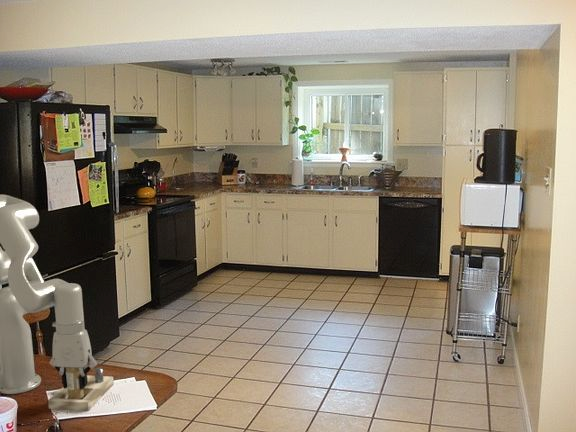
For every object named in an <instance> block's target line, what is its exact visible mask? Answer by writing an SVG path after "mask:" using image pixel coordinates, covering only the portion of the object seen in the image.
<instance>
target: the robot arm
mask: <svg viewBox="0 0 576 432" xmlns="http://www.w3.org/2000/svg"><path fill="white" fill-rule="evenodd" d="M39 223H40V215H39V212H38V210H37V209H36V207H35V206H34V205H32V204H31V203H30V202H28V201H26V200H23V199H20V198H18V197H14V196H11V195H9V194H8V195H7V194H0V286H1V285H6V284H8V286H5V287H2V288H0V393H1V394H4V395H16V394H22V393H26V392H30V391H31V390H34V389H35V388H37V387H39V386H40V384H41V383H42V378H41V376H40V375H39V374H37V373H36V370H35V361H34V359H35V358H34V351H33V350H34V347H33V339H32V337H33V336H32V331H31V327H30V324H29V323H28V322H27V321H26V320H25V318H24V315H26V314H28V313H29V314H30V313H31V314H34V313H37V312H38V313H39V312H41V311H43V310H46V309H49V308H53V307H54V314H55V315H54V316H55V321H54V322H52V326H51V327H52V328H55V332H53V337H52V352H51V353H52V355H51V356H52V357H51V359H50V361H49V365H51V367H53V368H54V369H55V370H56V371H58V374H59V375H60V376H61V383H62V388H67V379H66V367H69V368H79V372H80V376H79V386H80V389H83V388H84V387H85V386H86V385H87V383H88V380H87V375H88V373H89V372H90V371H91V370H92V369H95V368H96V366H98V362H97V360H96V359H95V358H94V356H93V355H92V346H91V341H90V337H89V334H88V330H87V329H85V319H84V318H85V316H84V306H83V305H84V303H83V292H82V291H83V289H82V287H81V285H80V284H78V283H73V282H70V283H69V282H67V281H65V280H63V279H60V278H53V279H49V280H46V281H45V280H44V278H43V276H42V274H41V272H40V271H39V269H38V267H37V264H36V261H35V260H34V258H33V256H34V255H35V254H36V253H37V252H38V250H39V245H38V243H37V241H36V240H35V238H34V237H33V235H32V233H31V232H30V230H31V229H35V228H36V227H38V225H39ZM88 363H89V365H88Z"/></svg>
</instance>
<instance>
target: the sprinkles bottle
mask: <svg viewBox="0 0 576 432" xmlns="http://www.w3.org/2000/svg"><path fill="white" fill-rule="evenodd" d="M79 376H80V372H79V368H69V367H66V379H67V388H68V399H76V400H79V399H81V398H83V397H84V392H83V389H80V386H79Z"/></svg>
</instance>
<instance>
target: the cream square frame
mask: <svg viewBox="0 0 576 432" xmlns="http://www.w3.org/2000/svg"><path fill="white" fill-rule="evenodd" d="M93 369H94V375H88V374H87V380H88V383H87V385H86V386H85V387H84V388H83V392H84V397H83V398H81V399H79V400H76V399H68V388H63V387H61V388H60V389H59V390H58V391H57V392H56V393H54V395H52V396H51V397H50V398H49V399H48V400H47V403H48V409H49V410H50V409H52V410H70V411H82V412H83V411H84V412H85V411H86V412H89V411H90V410H91V408H92V409H93V407H94V406H95V405H96V404H97V402H99V400H100V399H102V398H103V396H104V395H105V394H106V393H107V392H108V391H109V390H110V389H111V388H112V387H113V386H114V376H109V375H106V376H105V375H104V368H103V367H102V366H98V367H94V368H93Z"/></svg>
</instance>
